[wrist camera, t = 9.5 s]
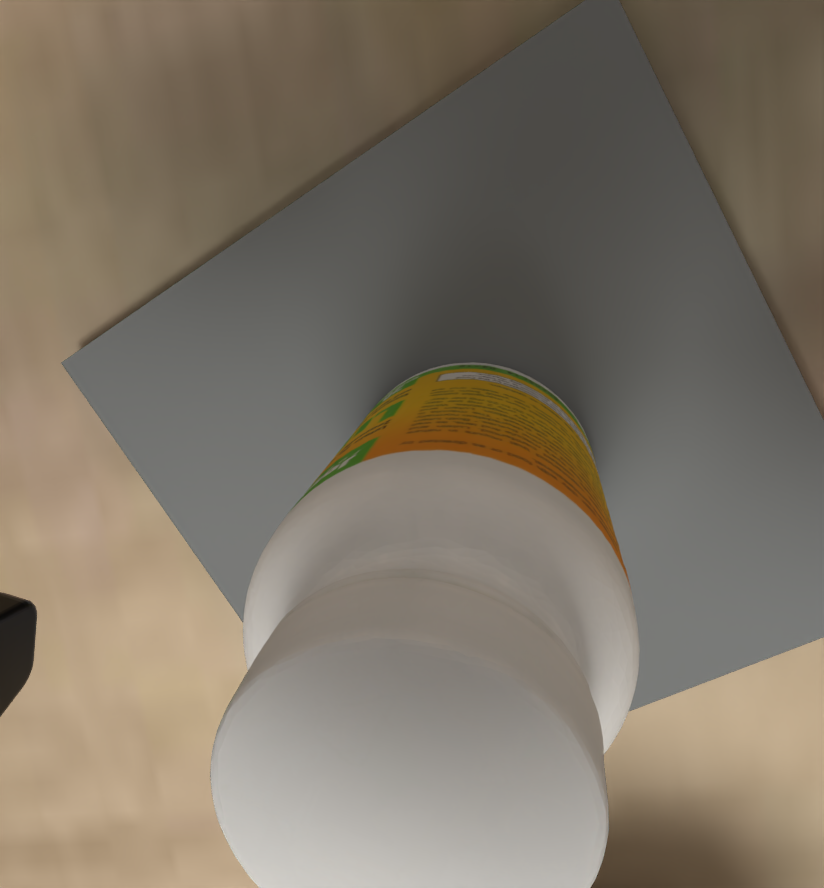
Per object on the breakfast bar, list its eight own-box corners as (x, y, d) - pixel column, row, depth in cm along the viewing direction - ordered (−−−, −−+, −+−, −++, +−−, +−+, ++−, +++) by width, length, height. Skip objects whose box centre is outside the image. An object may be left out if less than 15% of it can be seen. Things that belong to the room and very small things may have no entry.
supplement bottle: (398, 320, 15) (206, 473, 6) (637, 411, 15) (806, 706, 6) (326, 533, 17) (92, 897, 8) (537, 617, 17) (551, 1090, 8)
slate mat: (379, 786, 20) (373, 808, 19) (80, 356, 18) (60, 363, 17) (894, 585, 16) (913, 602, 15) (606, -5, 14) (610, -18, 13)
